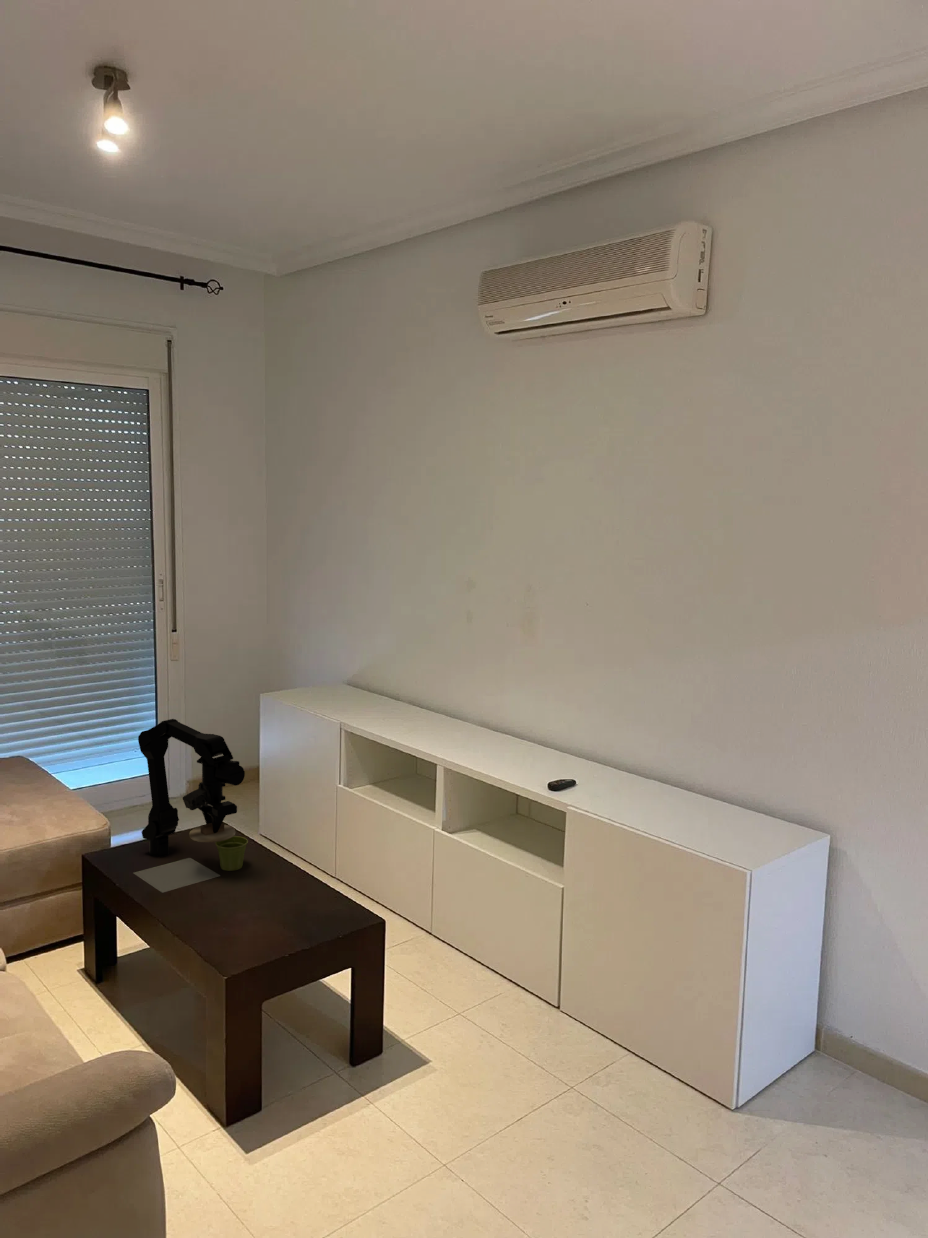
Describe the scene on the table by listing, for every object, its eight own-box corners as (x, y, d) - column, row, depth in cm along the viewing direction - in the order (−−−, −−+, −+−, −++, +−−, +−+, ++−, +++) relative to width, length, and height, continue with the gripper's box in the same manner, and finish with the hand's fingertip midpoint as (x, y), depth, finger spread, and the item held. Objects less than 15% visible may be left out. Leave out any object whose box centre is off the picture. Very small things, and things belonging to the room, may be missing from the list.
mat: (132, 876, 262) (132, 873, 262) (189, 860, 275) (189, 857, 275) (162, 896, 249) (162, 892, 249) (220, 879, 262) (220, 875, 262)
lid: (181, 833, 265) (181, 823, 265) (221, 824, 274) (221, 814, 274) (202, 845, 256) (202, 835, 255) (243, 835, 265) (243, 825, 264)
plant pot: (250, 873, 267) (250, 845, 266) (217, 877, 263) (217, 849, 262) (245, 862, 275) (245, 834, 274) (213, 865, 272) (213, 838, 271)
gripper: (171, 777, 264) (172, 828, 266) (202, 792, 251) (202, 846, 253) (206, 770, 272) (207, 820, 274) (238, 784, 258) (238, 837, 260)
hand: (212, 831), depth 265 cm, fingers closed on lid, 3 cm apart
